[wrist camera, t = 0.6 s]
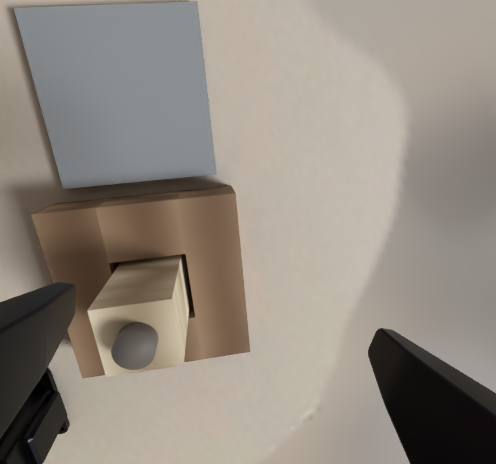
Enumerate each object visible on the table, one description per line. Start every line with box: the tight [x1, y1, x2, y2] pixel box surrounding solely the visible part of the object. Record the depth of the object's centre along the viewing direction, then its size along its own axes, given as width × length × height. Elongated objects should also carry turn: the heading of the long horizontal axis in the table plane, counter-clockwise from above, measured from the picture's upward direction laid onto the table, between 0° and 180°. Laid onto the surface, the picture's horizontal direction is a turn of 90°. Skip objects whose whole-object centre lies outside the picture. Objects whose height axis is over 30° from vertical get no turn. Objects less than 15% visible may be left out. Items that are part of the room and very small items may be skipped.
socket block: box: [31, 186, 250, 378], centre depth 21 cm, size 12×12×3 cm
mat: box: [14, 1, 216, 189], centre depth 19 cm, size 10×10×1 cm
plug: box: [87, 254, 191, 377], centre depth 18 cm, size 4×4×9 cm
